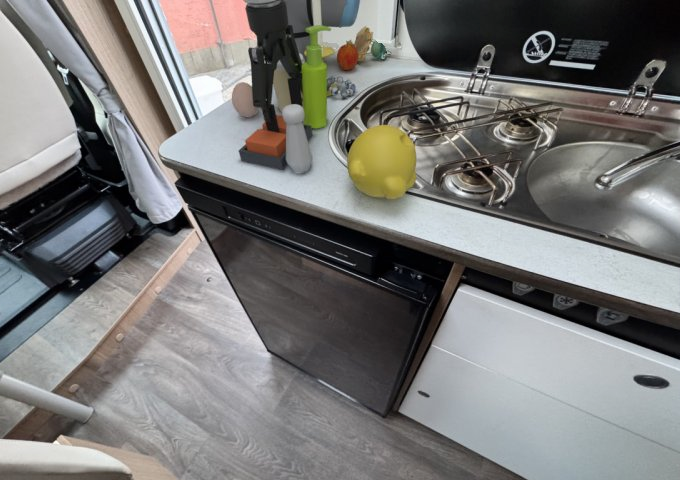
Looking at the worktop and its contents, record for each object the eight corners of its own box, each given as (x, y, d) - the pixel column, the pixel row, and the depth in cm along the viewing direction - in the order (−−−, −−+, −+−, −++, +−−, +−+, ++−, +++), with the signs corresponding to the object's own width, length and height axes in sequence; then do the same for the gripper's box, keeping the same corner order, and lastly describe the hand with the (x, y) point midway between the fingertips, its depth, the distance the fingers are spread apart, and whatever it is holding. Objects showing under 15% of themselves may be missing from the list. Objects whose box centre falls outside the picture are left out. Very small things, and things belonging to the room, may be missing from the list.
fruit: (355, 64, 101) (356, 35, 95) (359, 72, 97) (360, 42, 91) (335, 66, 101) (335, 38, 94) (338, 74, 97) (338, 45, 90)
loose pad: (276, 130, 76) (273, 114, 72) (304, 134, 74) (302, 118, 70) (265, 140, 73) (261, 124, 69) (294, 146, 71) (292, 129, 67)
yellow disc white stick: (298, 90, 91) (284, -35, 69) (323, 80, 94) (316, -41, 73) (319, 100, 86) (311, -31, 64) (344, 89, 89) (344, -38, 68)
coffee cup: (304, 115, 81) (298, 65, 71) (272, 114, 82) (262, 64, 73) (312, 100, 86) (308, 51, 77) (281, 99, 88) (274, 51, 78)
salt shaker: (282, 172, 65) (271, 111, 55) (294, 158, 68) (286, 98, 58) (306, 177, 64) (299, 116, 53) (317, 163, 67) (312, 102, 56)
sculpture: (418, 192, 47) (377, 113, 44) (357, 223, 55) (319, 158, 52) (438, 169, 58) (406, 105, 55) (385, 198, 66) (355, 143, 63)
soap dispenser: (334, 124, 78) (336, 27, 62) (311, 130, 75) (308, 32, 59) (322, 115, 81) (322, 21, 65) (300, 121, 78) (294, 25, 63)
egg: (252, 107, 85) (244, 75, 79) (267, 115, 82) (260, 81, 76) (231, 116, 83) (221, 83, 76) (246, 124, 79) (237, 91, 73)
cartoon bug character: (343, 69, 108) (378, 75, 113) (365, 52, 92) (405, 61, 97) (345, 37, 105) (381, 46, 110) (368, 15, 89) (409, 25, 94)
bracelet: (334, 79, 92) (336, 71, 90) (361, 91, 89) (362, 84, 88) (316, 88, 86) (317, 80, 85) (344, 101, 84) (345, 94, 83)
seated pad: (261, 144, 72) (257, 128, 68) (290, 150, 69) (288, 134, 66) (249, 156, 69) (244, 140, 65) (279, 163, 66) (276, 146, 63)
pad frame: (274, 128, 77) (272, 118, 75) (312, 135, 74) (311, 125, 72) (241, 161, 69) (238, 150, 67) (283, 170, 66) (281, 159, 64)
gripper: (247, 25, 46) (276, 150, 64) (311, -17, 58) (320, 98, 76) (209, 22, 48) (246, 144, 66) (278, -18, 60) (294, 95, 78)
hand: (286, 120), depth 71 cm, fingers open, 11 cm apart
